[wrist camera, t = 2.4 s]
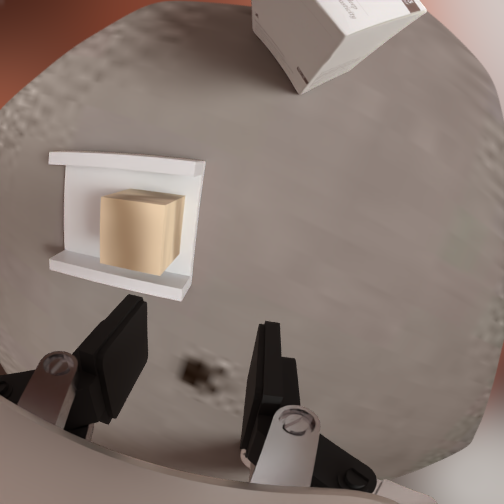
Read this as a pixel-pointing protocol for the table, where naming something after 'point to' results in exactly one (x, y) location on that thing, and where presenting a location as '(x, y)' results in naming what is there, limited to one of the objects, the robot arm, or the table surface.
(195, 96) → the table surface
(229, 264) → the table surface
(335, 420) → the table surface
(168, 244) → the birch block
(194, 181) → the u-shaped channel
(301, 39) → the skincare box
